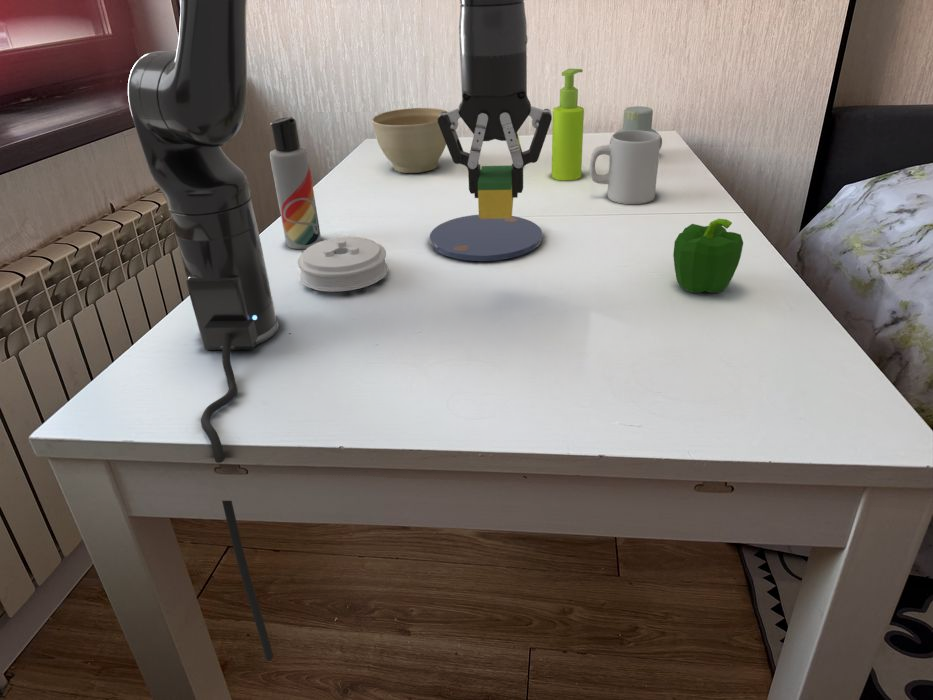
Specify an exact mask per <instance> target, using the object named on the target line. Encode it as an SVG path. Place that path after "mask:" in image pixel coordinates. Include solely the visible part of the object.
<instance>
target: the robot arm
mask: <svg viewBox="0 0 933 700" xmlns="http://www.w3.org/2000/svg"><path fill="white" fill-rule="evenodd" d="M459 4H460V5H459V7H460V8H459V19H458V20H459V22H458V37H459V38H458V39H459V57H460V58H459V60H460V83H461V101H460V103H459V105H458V108H455V109H453V110H450V111H448V112H446V111H447V110H446V111H444V112H442V113H441V114H440V116H439V118H438V124H439V127H440V129H441V132H442V134H443V137H444V140H445V142H446V147H447V150H448V152H449V155H450V158H451V160H452V162H453V163H454V164H456V165H461V166H462V165H463V166H464V167H466V168H467V177H468V190H469V193H470V194H474V199H478V179H479V176H480V172H481V164H480V162H479V159H480V156H481V152H482V148H483V143H484V142H491V141H494V140H497V141H501V142H506V145H507V148H508V151H509V153H510V157H511V161H512V163H511V165H512V169H511V171H512V198H513V199H514V198H515V199H517V198H518V196H519V194H522V192H523V190H524V167H525V166H526V165H529V164H531V163H532V164H535V163H537V162H538V160H539V158H540V155H541V152H542V150H543V146H544V143H545V141H546V137H547V135H548V131H549V130H550V129H549V128H550V126H551V123H552V121H553V113H552V111H551V110H550V109H549V108H544V109H541V108H539V107H535V106H533V105H532V104H531V101H530V100H529V97H528V89H527V88H528V87H527V85H528V74H527V72H528V69H527V67H528V65H527V63H528V60H527V59H528V56H527V55H528V47H527V46H528V34H527V31H528V30H527V29H528V28H527V26H528V25H527V24H528V23H527V15H526V8H525V0H459ZM247 5H248V0H180V12H179V13H180V16H179V30H178V31H179V32H178V41H177V48H176V50H157V51H151V52H149V53H146V54H144V55H143V56H141V57H140V58H139V59H138V60H137V61H136V62H135V63H134V65H133V67H132V69H131V70H130V74H129V77H128V83H127V96H128V103H129V111H130V113H131V117H132V121H133V124H134V128H135V130H136V134H137V137H138V139H139V143H140V146H141V149H142V152H143V155H144V158H145V162H146V164H147V167H148V170H149V173H150V175H151V176H150V177H151V178H152V180H153V182H154V184H155V185H156V186H157V188H158V189H159V190H160V192H161V194H162V195H163V197H164V199H165V202H166V205H167V209H168V213H169V216H170V221H171V224H172V228H173V232H174V235H175V239H176V243H177V247H178V250H179V253H180V257H181V260H182V264H183V269H184V272H185V276H186V280H185V282H186V283H185V284H186V287H187V291H188V295H189V298H190V301H191V305H192V309H193V312H194V316H195V320H196V323H197V324H196V325H197V328H198V330H199V334H200V339H201V342H202V346H203V349H204V350H205V351H221V361H222V366H223V371H224V374H225V379H226V383H227V386H228V390H227V392H226V394H224V395H223V396H222V397H220V398H218V399H217V400H215V401H213V402H212V403H210V404H209V405H208V406H207V407H206V408H205V409H204V411H203V412H202V415H201V418H200V424H201V425H200V426H201V428H202V430H203V431H204V433H205V434H206V436H207V437H208V440H209V441H210V442H209V443H210V444H211V448H212V452H213V456H214V461H215V463H217V464H219V463H222V462H224V460H225V454H224V448H223V444H222V441H221V438H220V436H219V434H218V432H217V431H216V429H215V427H214V426H213V424H212V423H211V418H212V415H213V414H214V413H215V412H217V411H218V410H220V409H221V408H223V407H225V406H226V405H227V404H229V403H230V402H232V401H233V399H234V398H235V397H236V395H237V393H238V385H237V382H236V378H235V374H234V370H233V367H232V362H231V351H233V350H234V351H235V350H240V351H241V350H242V351H247V350H251V351H252V350H253V349H255V347H256V346H257V345H259V344H261V343H263V342H266V341H267V340H269V339H271V337H273V336H274V335H275V334H276V333H277V331H278V330H279V327H280V325H279V319H278V316H277V314H276V310H275V304H274V300H273V299H274V298H273V295H272V290H271V285H270V281H269V280H270V279H269V275H268V270H267V267H266V260H265V257H264V256H265V255H264V252H263V246H262V242H261V238H260V237H261V236H260V232H259V226H258V222H257V218H256V212H255V207H254V202H253V198H252V193H251V188H250V184H249V180H248V176H247V175H246V173H245V172H244V171H243V169H241V168H240V167H238V166H237V165H236V164H235V163H234V162H233V161H232V160H230V158H229V157H228V156H227V155H226V154H225V152H224V151H223V149H222V148H221V147H222V146H225V145H226V144H229V143H230V142H231V141H232V140H233V139H234V138H235V137H236V136H237V135H238V134H239V132H240V130H241V128H242V125H243V122H244V120H245V116H246V110H247V103H248V102H247V101H248V53H247V50H248V49H247V48H248V47H247V45H248V44H247V43H248V42H247ZM528 117H531V119H532V121H531V124H532V127H533V128H535V130H534V134H533V137H532V140H531V143H530V146H529V149H527V150H522V146H521V141H520V137H519V133H518V132H519V130H520V129H521V127H522V125H523V124H524V123H525V122H526V120H527V119H528ZM460 118H461V120H462V121H463V123H464V124H465V125H466V126H467V128H468V129H469V130H470V132H471V133H472V134H473V137H472V141H471V146H470V151H469V152H467V151H464V148H463V146H462V144H461V141H460V138H459V136H458V132H457V131H456V130H457V129H458V128H459V119H460ZM221 501H222V502H221V503H222V506H223V510H224V516H225V519H226V524H227V529H228V532H229V536H230V540H231V544H232V548H233V551H234V556H235V559H236V563H237V567H238V570H239V573H240V577H241V580H242V584H243V587H244V590H245V594H246V597H247V601H248V603H249V607H250V610H251V613H252V616H253V620H254V623H255V626H256V630H257V632H258V633H257V634H258V636H259V641H260V643H261V646H262V649H263V653H264V657H265V660H266V661H272V660H273V659H274V652H273V649H272V645H271V642H270V638H269V635H268V631H267V628H266V623H265V621H264V618H263V615H262V611H261V608H260V604H259V601H258V597H257V595H256V591H255V587H254V584H253V580H252V577H251V574H250V570H249V567H248V562H247V559H246V558H247V557H246V555H245V552H244V551H245V550H244V548H243V547H244V546H243V543H242V539H241V536H240V532H239V526H238V522H237V518H236V514H235V510H234V505H233V500H221Z"/></svg>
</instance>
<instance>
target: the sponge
mask: <svg viewBox="0 0 933 700" xmlns="http://www.w3.org/2000/svg"><path fill="white" fill-rule="evenodd" d="M480 168H481V172H480V176H479V179H478V198H477V202H478V205H477V206H478V215H479V219H503V218H512V216H513V207H514V198H512V171H511V169H512V164H511V165H480Z"/></svg>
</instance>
